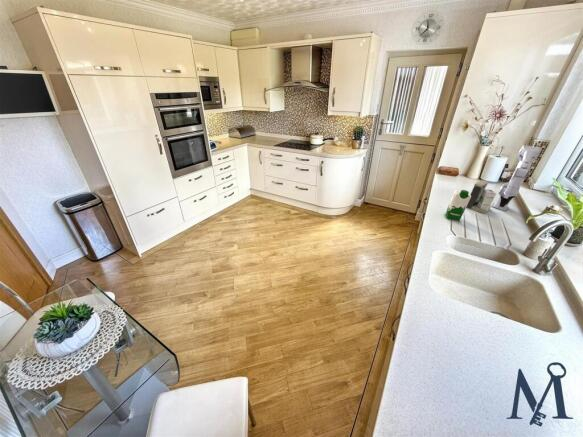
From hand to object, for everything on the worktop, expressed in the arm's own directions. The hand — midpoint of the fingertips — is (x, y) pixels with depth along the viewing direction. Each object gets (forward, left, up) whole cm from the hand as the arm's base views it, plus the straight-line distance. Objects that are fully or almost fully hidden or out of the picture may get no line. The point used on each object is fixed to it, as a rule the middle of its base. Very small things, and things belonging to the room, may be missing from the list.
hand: (503, 205), depth 157 cm
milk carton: (+32, -17, -8) cm, 37 cm away
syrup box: (0, -10, -8) cm, 13 cm away
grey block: (0, -13, -8) cm, 15 cm away
